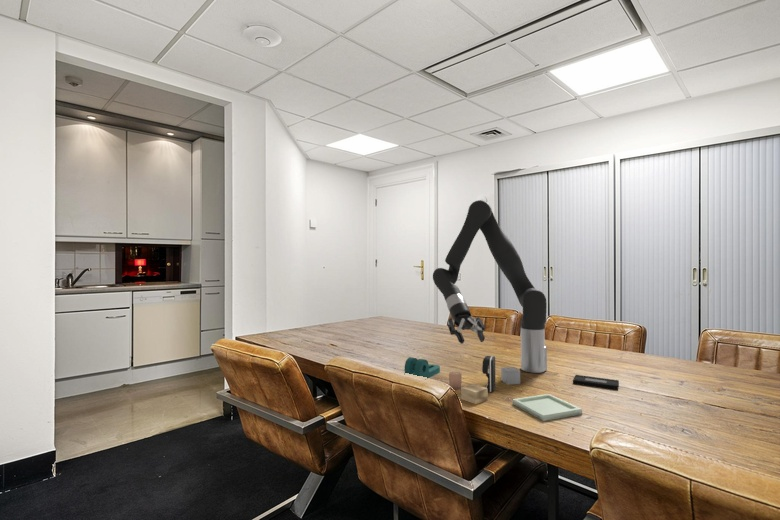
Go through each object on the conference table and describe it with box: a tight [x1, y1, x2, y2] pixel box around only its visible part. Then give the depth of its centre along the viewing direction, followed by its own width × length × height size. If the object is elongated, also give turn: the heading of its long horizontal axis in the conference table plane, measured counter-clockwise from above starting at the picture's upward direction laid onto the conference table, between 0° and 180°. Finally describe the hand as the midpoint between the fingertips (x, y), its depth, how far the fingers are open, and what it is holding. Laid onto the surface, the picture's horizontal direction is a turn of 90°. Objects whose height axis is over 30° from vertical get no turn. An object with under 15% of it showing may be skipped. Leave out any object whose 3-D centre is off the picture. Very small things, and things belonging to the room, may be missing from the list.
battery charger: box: [481, 355, 496, 393], centre depth 142 cm, size 7×4×11 cm, turn 158°
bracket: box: [404, 356, 441, 379], centre depth 160 cm, size 18×7×8 cm, turn 144°
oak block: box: [460, 383, 489, 405], centre depth 132 cm, size 6×6×4 cm
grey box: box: [500, 366, 521, 386], centre depth 150 cm, size 5×5×5 cm
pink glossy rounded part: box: [448, 371, 463, 390], centre depth 144 cm, size 4×4×5 cm
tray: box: [512, 393, 583, 422], centre depth 123 cm, size 14×14×2 cm
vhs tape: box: [572, 374, 620, 391], centre depth 147 cm, size 8×14×2 cm, turn 58°
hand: (472, 341), depth 152 cm, fingers open, 8 cm apart
